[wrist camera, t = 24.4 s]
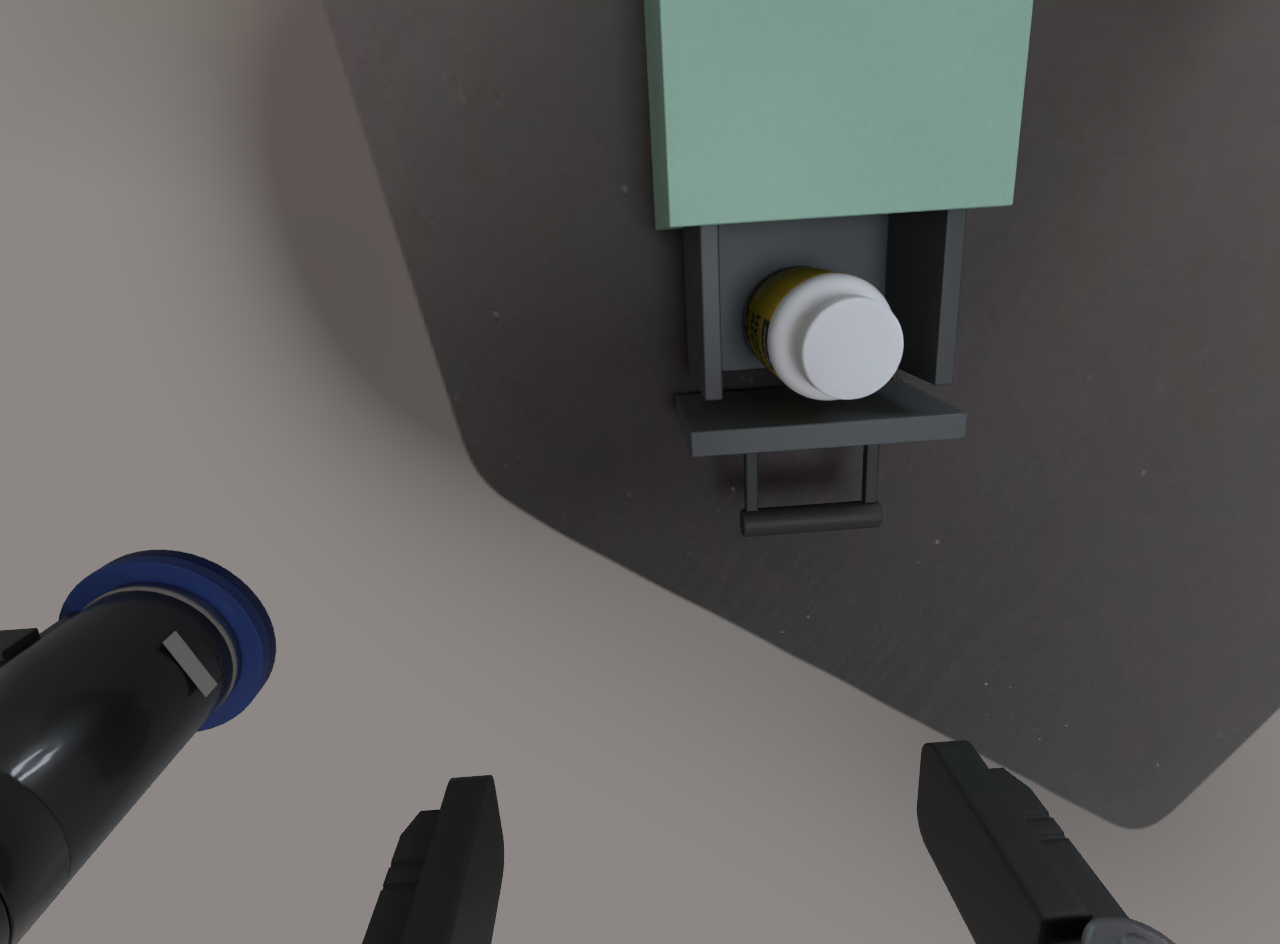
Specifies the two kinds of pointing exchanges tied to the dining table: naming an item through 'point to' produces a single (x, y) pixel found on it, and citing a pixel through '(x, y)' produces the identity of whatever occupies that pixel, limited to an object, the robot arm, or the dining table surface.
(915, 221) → the grey pull-out drawer
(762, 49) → the green drawer cabinet
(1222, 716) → the dining table surface
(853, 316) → the supplement bottle
